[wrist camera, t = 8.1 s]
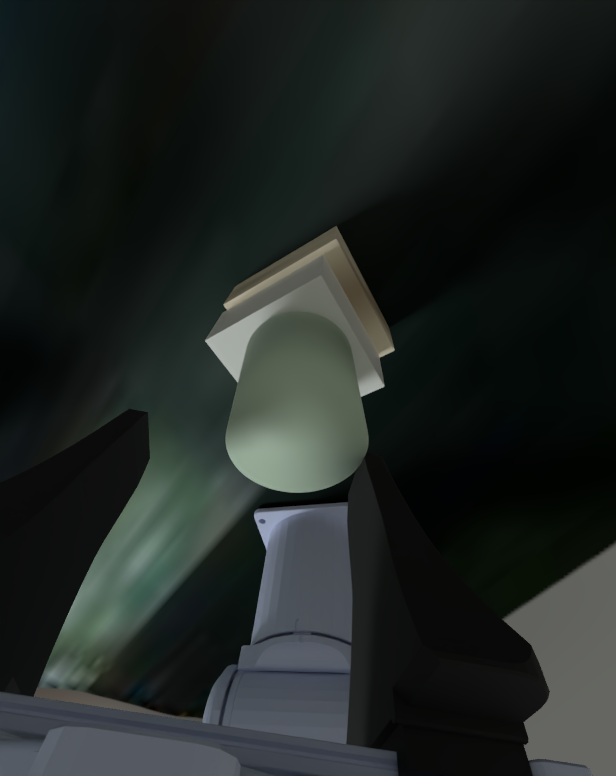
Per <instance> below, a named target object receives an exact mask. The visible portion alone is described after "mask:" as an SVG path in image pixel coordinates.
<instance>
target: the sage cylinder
mask: <svg viewBox="0 0 616 776" xmlns="http://www.w3.org/2000/svg"><path fill="white" fill-rule="evenodd" d="M225 440H226V448H227V451H228V454H229V456H230V458H231V460H232V462H233V463H234V465H235V466H236V467H237V468H238V470H239V471H240V472H241V473H243V474H244V475H245V476H246V477H248V478H249V479H251V480H252V481H254V482H256V483H258V484H260V485H262V486H264V487H267V488H270V489H274V490H278V491H283V492H296V493H301V492H311V491H317V490H321V489H325V488H328V487H331V486H333V485H335V484H337V483H339V482H341V481H343V480H344V479H346V478H347V477H349V476H350V475H351V474H352V473H353V472H354V471H355V470H356V469H357V468H358V467H359V466H360V464H361V463H362V461H363V459H364V457H365V455H366V452H367V449H368V431H367V426H366V421H365V416H364V411H363V406H362V401H361V396H360V391H359V386H358V380H357V375H356V370H355V365H354V360H353V355H352V350H351V346H350V343H349V341H348V339H347V337H346V335H345V334H344V333H343V331H342V330H341V329H340V328H339V327H338V326H337V325H336V324H334V323H333V322H332V321H330V320H328V319H327V318H325V317H322V316H320V315H317V314H313V313H308V312H288V313H283V314H280V315H277V316H274V317H272V318H270V319H268V320H267V321H265V322H264V323H263V324H261V325H260V326H259V327H258V328H257V329H256V330H255V332H254V333H253V334H252V336H251V338H250V339H249V342H248V344H247V348H246V352H245V356H244V360H243V364H242V368H241V372H240V377H239V381H238V385H237V389H236V393H235V397H234V401H233V406H232V410H231V414H230V418H229V422H228V426H227V430H226V439H225Z"/></svg>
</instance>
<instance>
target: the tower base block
mask: <svg viewBox="0 0 616 776" xmlns="http://www.w3.org/2000/svg"><path fill="white" fill-rule="evenodd" d="M323 254H324V256H325V258H326V259H327V261H328V263H329V265H330V267H331V269H332V270H333V272H334V274H335V276H336V278H337V279H338V281H339V283H340V285H341V287H342V288H343V290H344V292H345V294H346V296H347V297H348V299H349V301H350V303H351V305H352V307H353V308H354V310H355V312H356V314H357V316H358V317H359V319H360V321H361V323H362V325H363V326H364V328H365V330H366V332H367V334H368V335H369V337H370V339H371V341H372V343H373V345H374V346H375V348H376V350H377V352H378V354H379V357H382V356H384V355H386V354H388V353H390V352H392V351H395V349H394V346H393V342H392V338H391V334H390V330H389V327H388V325H387V323H386V321H385V319H384V317H383V315H382V313H381V311H380V309H379V307H378V306H377V304H376V302H375V300H374V298H373V296H372V294H371V292H370V290H369V288H368V286H367V284H366V282H365V280H364V278H363V276H362V274H361V273H360V271H359V269H358V267H357V265H356V263H355V261H354V259H353V257H352V255H351V253H350V251H349V249H348V247H347V245H346V243H345V241H344V240H343V238H342V236H341V234H340V232H339V230H338V228H337V226H335V227H334V228H332V229H330V230H329V231H327V232H325V233H324V234H322V235H320V236H319V237H317V238H315V239H314V240H312V241H310V242H309V243H307V244H305V245H304V246H302V247H300V248H298V249H297V250H295V251H293V252H292V253H290V254H288V255H287V256H285V257H283V258H282V259H280V260H278V261H277V262H275V263H273V264H272V265H270V266H268V267H267V268H265V269H263V270H262V271H260V272H258V273H257V274H255V275H253V276H252V277H250V278H248V279H247V280H245V281H243V282H241V283H240V284H238V285H236V286H235V288H234V289H233V291H232V292H231V294H230V295H229V297H228V298H227V300H226V301H225V303H224V304H223V305H224V306H225V308H226V309H227V310H229V309H230V308H232V307H234V306H235V305H237V304H239V303H241V302H242V301H244V300H246V299H247V298H249V297H251V296H253V295H254V294H256V293H258V292H259V291H261V290H263V289H265V288H266V287H268V286H270V285H272V284H273V283H275V282H277V281H278V280H280V279H282V278H284V277H285V276H287V275H289V274H290V273H292V272H294V271H296V270H297V269H299V268H301V267H302V266H304V265H306V264H308V263H309V262H311V261H313V260H315V259H316V258H318V257H320V256H321V255H323Z"/></svg>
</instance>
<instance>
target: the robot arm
mask: <svg viewBox="0 0 616 776" xmlns="http://www.w3.org/2000/svg"><path fill="white" fill-rule="evenodd" d="M149 459H150V452H149V428H148V412H143V411H138V410H132V409H129V410H127V411H125V412H124V413H122V414H121V415H119V416H118V417H116V418H114V419H113V420H111V421H110V422H108V423H107V424H105V425H104V426H102V427H101V428H99V429H98V430H96V431H95V432H93V433H91V434H90V435H88V436H87V437H85V438H83V439H82V440H80V441H79V442H77V443H75V444H74V445H72V446H71V447H69V448H67V449H65V450H64V451H62V452H60V453H58V454H57V455H55V456H53V457H51V458H50V459H48V460H46V461H44V462H42V463H40V464H39V465H37V466H35V467H33V468H31V469H29V470H27V471H25V472H22V473H20V474H18V475H16V476H14V477H12V478H10V479H8V480H5V481H3V482H1V483H0V776H593V775H592V773H591V770H590V769H589V768H588V767H586V766H584V765H579V764H572V763H566V762H559V761H553V760H546V759H536V760H530V761H528V758H527V755H526V752H525V748H524V745H523V744H525V745H526V744H527V743H528V736H527V732H526V729H525V726H524V723H523V722H524V721H525V720H527V719H528V718H529V717H530V716H532V715H533V714H534V713H535V712H536V711H538V710H539V709H540V708H541V707H542V706H543V705H544V704H545V703H546V701H547V699H548V696H549V692H550V691H549V689H548V686H547V684H546V681H545V678H544V676H543V672H542V670H541V667H540V665H539V662H538V660H537V657H536V655H535V653H534V651H533V649H532V646H531V645H530V644H529V643H528V642H527V641H526V640H525V639H524V638H522V637H521V636H520V635H519V634H518V633H517V632H516V631H515V630H513V629H512V628H511V627H510V626H509V625H508V624H507V623H505V622H504V621H503V620H502V619H501V618H500V617H499V616H498V615H497V614H496V613H494V612H493V611H492V610H491V609H490V608H489V607H488V606H487V605H486V604H485V603H484V602H483V601H482V600H481V599H480V598H479V597H478V596H477V595H476V594H475V593H474V592H473V591H472V589H471V588H470V587H469V586H468V585H467V584H466V583H465V582H464V581H463V580H462V579H461V577H460V576H459V575H458V574H457V573H456V572H455V571H454V570H453V568H452V567H451V566H450V565H449V564H448V563H447V561H446V560H445V559H444V558H443V556H442V555H441V554H440V553H439V551H438V550H437V549H436V547H435V546H434V545H433V543H432V542H431V541H430V539H429V538H428V536H427V535H426V534H425V532H424V531H423V529H422V528H421V526H420V525H419V523H418V521H417V520H416V518H415V517H414V515H413V514H412V512H411V510H410V509H409V507H408V505H407V503H406V502H405V500H404V498H403V497H402V495H401V493H400V491H399V489H398V488H397V486H396V484H395V482H394V480H393V478H392V476H391V474H390V472H389V470H388V468H387V466H386V464H385V462H384V460H383V458H382V457H381V455H377V454H371V453H366V455H365V457H364V459H363V461H362V463H361V464H360V466H359V467H358V468H357V470H356V473H355V476H354V479H353V482H352V485H351V488H350V491H349V494H348V502H343V503H330V504H316V505H303V506H289V507H276V508H263V509H257V510H256V511H255V514H254V517H255V520H256V523H257V526H258V528H259V531H260V534H261V536H262V539H263V542H264V544H265V547H266V550H267V553H266V558H265V564H264V570H263V576H262V582H261V588H260V593H259V599H258V605H257V611H256V617H255V623H254V629H253V634H252V640H251V645H247V646H242V648H241V653H240V659H239V664H238V665H230V666H228V667H227V668H226V669H225V670H224V672H223V673H222V675H221V676H220V677H219V678H218V679H217V681H216V682H215V684H214V686H213V688H212V690H211V693H210V695H209V698H208V701H207V704H206V708H205V712H204V716H203V721H202V722H196V721H190V720H182V719H176V718H169V717H163V716H156V715H150V714H143V713H137V712H130V711H124V710H117V709H110V708H104V707H97V706H91V705H84V704H77V703H71V702H64V701H58V700H51V699H44V698H38V697H33V696H34V694H35V691H36V688H37V686H38V684H39V681H40V679H41V676H42V674H43V671H44V669H45V666H46V664H47V661H48V659H49V656H50V654H51V652H52V649H53V647H54V645H55V642H56V640H57V638H58V635H59V633H60V631H61V629H62V626H63V624H64V622H65V619H66V617H67V615H68V613H69V610H70V608H71V606H72V604H73V602H74V600H75V597H76V595H77V593H78V591H79V589H80V587H81V584H82V582H83V580H84V578H85V576H86V574H87V572H88V570H89V568H90V566H91V564H92V562H93V560H94V558H95V556H96V554H97V552H98V550H99V549H100V547H101V545H102V543H103V542H104V540H105V538H106V537H107V535H108V533H109V532H110V530H111V529H112V527H113V525H114V524H115V522H116V520H117V519H118V517H119V516H120V514H121V512H122V511H123V509H124V507H125V506H126V504H127V503H128V501H129V499H130V498H131V496H132V494H133V493H134V491H135V489H136V488H137V486H138V484H139V482H140V480H141V477H142V475H143V473H144V471H145V468H146V466H147V464H148V461H149ZM263 519H264V520H263Z"/></svg>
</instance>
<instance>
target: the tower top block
mask: <svg viewBox="0 0 616 776" xmlns="http://www.w3.org/2000/svg"><path fill="white" fill-rule="evenodd" d="M288 312H308V313H313V314H317V315H320V316H322V317H325V318H327V319H328V320H330V321H332V322H333V323H334V324H336V325H337V326H338V327H339V328H340V329H341V330H342V331H343V333H344V334H345V335H346V337H347V339H348V341H349V343H350V346H351V350H352V355H353V360H354V365H355V370H356V375H357V380H358V386H359V391H360V396H361V397H362V396H364V395H366V394H368V393H371V392H373V391H375V390H378V389H380V388H382V387H385V386H384V380H383V375H382V369H381V364H380V358H379V354H378V352H377V350H376V348H375V346H374V345H373V343H372V341H371V339H370V337H369V335H368V334H367V332H366V330H365V328H364V326H363V325H362V323H361V321H360V319H359V317H358V316H357V314H356V312H355V310H354V308H353V307H352V305H351V303H350V301H349V299H348V297H347V296H346V294H345V292H344V290H343V288H342V287H341V285H340V283H339V281H338V279H337V278H336V276H335V274H334V272H333V270H332V269H331V267H330V265H329V263H328V261H327V259H326V258H325V256H324V254H323V255H321V256H320V257H318V258H316V259H315V260H313V261H311V262H309V263H308V264H306V265H304V266H302V267H301V268H299V269H297V270H296V271H294V272H292V273H290V274H289V275H287V276H285V277H284V278H282V279H280V280H278V281H277V282H275V283H273V284H272V285H270V286H268V287H266V288H265V289H263V290H261V291H259V292H258V293H256V294H254V295H253V296H251V297H249V298H247V299H246V300H244V301H242V302H241V303H239V304H237V305H235V306H234V307H232V308H230V309H229V310H227V311H225V312H223V313H222V315H221V316H220V318H219V319H218V321H217V322H216V324H215V326H214V327H213V329H212V330H211V332H210V333H209V335H208V336H207V338H206V340H205V341H206V343H207V344H208V345H209V346H210V348H211V349H212V350H213V352H214V353H215V354H216V355H217V357H218V358H219V359H220V361H221V362H222V363H223V364H224V366H225V367H226V368H227V369H228V371H229V372H230V373H231V375H232V376H233V377H234V378H235V380H236V381H237V382H238V381H239V377H240V372H241V368H242V364H243V360H244V356H245V352H246V348H247V344H248V342H249V339H250V338H251V336H252V334H253V333H254V332H255V330H256V329H257V328H258V327H259V326H260V325H261V324H263V323H264V322H265V321H267V320H268V319H270V318H272V317H274V316H277V315H280V314H283V313H288Z"/></svg>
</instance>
